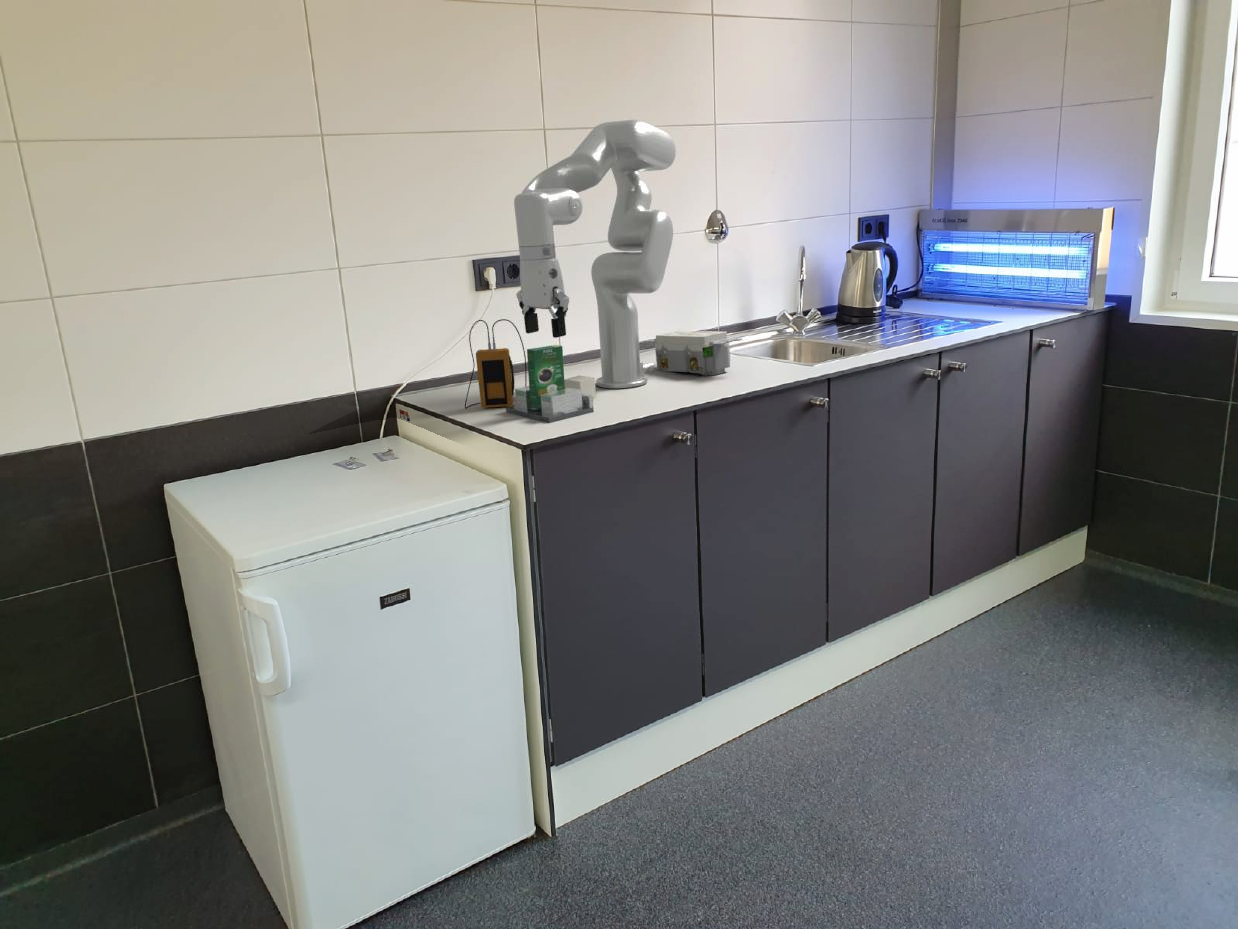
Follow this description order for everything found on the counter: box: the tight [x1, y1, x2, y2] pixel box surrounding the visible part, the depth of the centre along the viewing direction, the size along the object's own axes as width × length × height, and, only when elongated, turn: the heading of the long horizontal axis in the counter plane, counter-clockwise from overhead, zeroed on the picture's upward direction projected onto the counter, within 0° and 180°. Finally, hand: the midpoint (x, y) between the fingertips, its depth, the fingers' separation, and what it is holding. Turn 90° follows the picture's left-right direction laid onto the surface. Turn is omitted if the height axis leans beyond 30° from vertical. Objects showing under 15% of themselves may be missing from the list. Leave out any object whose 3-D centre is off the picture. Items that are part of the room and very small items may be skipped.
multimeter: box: [464, 318, 527, 410], centre depth 211 cm, size 15×10×20 cm
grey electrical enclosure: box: [643, 330, 743, 377], centre depth 236 cm, size 12×28×10 cm, turn 40°
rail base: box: [505, 385, 595, 424], centre depth 202 cm, size 12×16×5 cm
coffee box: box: [526, 344, 565, 410], centre depth 200 cm, size 8×3×13 cm, turn 130°
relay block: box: [564, 375, 597, 400], centre depth 212 cm, size 5×5×5 cm
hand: (545, 334), depth 198 cm, fingers open, 9 cm apart
